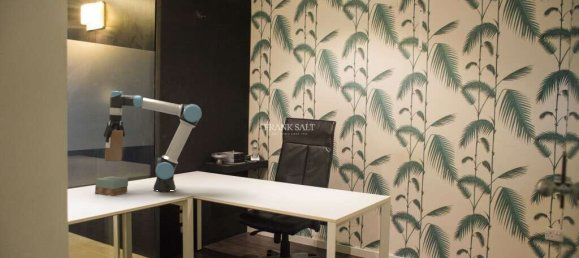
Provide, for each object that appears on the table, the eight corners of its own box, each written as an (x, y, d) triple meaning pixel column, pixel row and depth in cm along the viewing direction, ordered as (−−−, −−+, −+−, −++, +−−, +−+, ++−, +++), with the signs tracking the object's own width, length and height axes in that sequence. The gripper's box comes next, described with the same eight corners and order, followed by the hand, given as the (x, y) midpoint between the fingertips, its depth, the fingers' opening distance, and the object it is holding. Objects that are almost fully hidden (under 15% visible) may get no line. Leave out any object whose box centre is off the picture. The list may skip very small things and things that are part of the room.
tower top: (127, 186, 287) (128, 178, 286) (113, 189, 273) (113, 181, 273) (110, 183, 291) (110, 176, 291) (95, 186, 277) (95, 179, 277)
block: (121, 161, 279) (122, 130, 278) (104, 161, 275) (106, 130, 275) (121, 159, 288) (123, 129, 287) (105, 159, 285) (107, 129, 284)
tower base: (127, 193, 287) (127, 185, 287) (114, 196, 274) (114, 189, 274) (108, 191, 290) (108, 183, 290) (95, 194, 277) (95, 186, 277)
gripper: (121, 114, 294) (119, 145, 294) (98, 113, 269) (97, 147, 270) (131, 115, 292) (129, 146, 293) (109, 114, 268) (107, 148, 268)
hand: (114, 147), depth 281 cm, fingers closed on block, 13 cm apart
